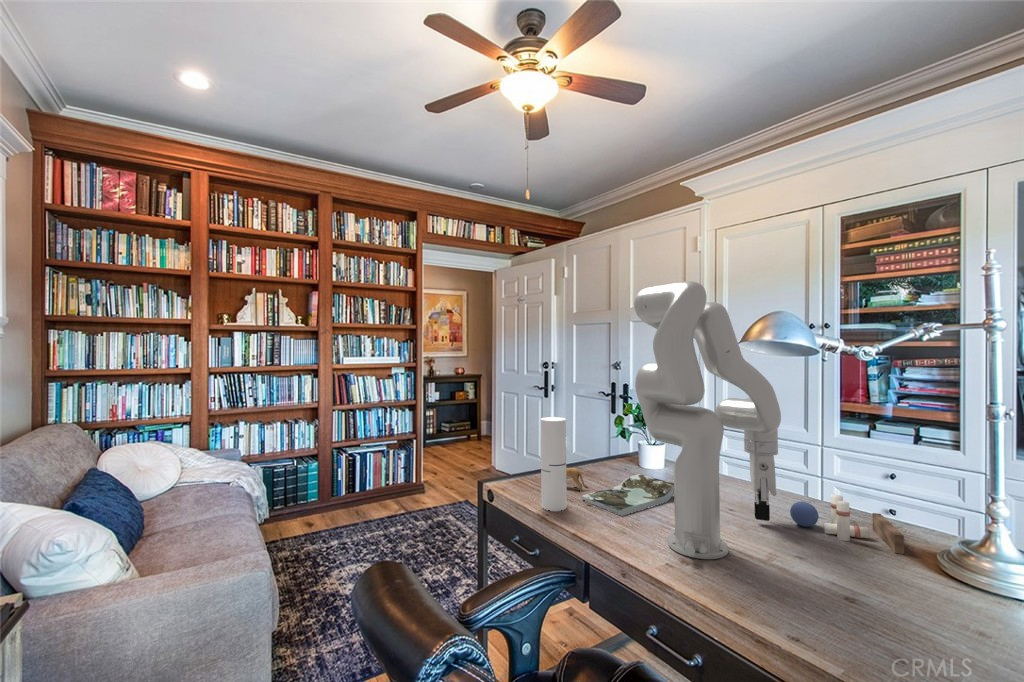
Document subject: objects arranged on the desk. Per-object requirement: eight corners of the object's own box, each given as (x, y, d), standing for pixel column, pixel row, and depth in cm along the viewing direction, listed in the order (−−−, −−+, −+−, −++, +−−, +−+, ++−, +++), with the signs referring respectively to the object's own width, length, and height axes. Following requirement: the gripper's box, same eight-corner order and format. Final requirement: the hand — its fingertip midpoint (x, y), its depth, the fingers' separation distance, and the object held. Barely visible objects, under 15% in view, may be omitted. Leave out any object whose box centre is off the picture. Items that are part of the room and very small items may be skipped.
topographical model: (622, 519, 121) (619, 500, 121) (583, 509, 133) (581, 492, 134) (681, 496, 135) (679, 479, 135) (641, 489, 148) (639, 473, 148)
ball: (807, 493, 113) (790, 507, 112) (828, 514, 110) (811, 528, 109) (797, 500, 118) (781, 513, 117) (817, 520, 115) (801, 534, 113)
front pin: (826, 535, 108) (870, 540, 104) (825, 524, 108) (869, 529, 104) (823, 531, 110) (866, 536, 107) (823, 520, 110) (866, 525, 107)
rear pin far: (845, 533, 108) (844, 498, 108) (832, 532, 109) (831, 497, 109) (842, 529, 111) (841, 494, 111) (830, 528, 112) (829, 493, 112)
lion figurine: (542, 488, 146) (541, 460, 146) (546, 483, 151) (546, 456, 151) (587, 492, 141) (587, 463, 141) (590, 487, 146) (589, 459, 146)
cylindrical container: (565, 512, 124) (564, 421, 125) (539, 510, 126) (539, 420, 126) (567, 503, 131) (566, 417, 132) (543, 501, 133) (542, 416, 133)
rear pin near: (852, 542, 104) (851, 505, 104) (838, 540, 105) (837, 503, 105) (848, 537, 106) (847, 501, 106) (835, 536, 107) (834, 500, 107)
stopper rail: (904, 554, 97) (903, 535, 97) (895, 553, 98) (894, 534, 98) (880, 530, 110) (880, 513, 110) (872, 529, 111) (872, 512, 111)
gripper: (782, 454, 106) (784, 532, 106) (773, 441, 120) (774, 511, 120) (746, 451, 109) (748, 527, 109) (742, 439, 123) (743, 507, 122)
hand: (762, 518), depth 114 cm, fingers closed
